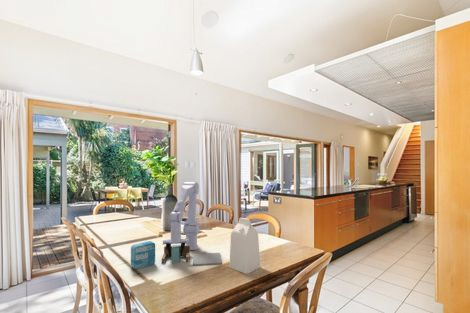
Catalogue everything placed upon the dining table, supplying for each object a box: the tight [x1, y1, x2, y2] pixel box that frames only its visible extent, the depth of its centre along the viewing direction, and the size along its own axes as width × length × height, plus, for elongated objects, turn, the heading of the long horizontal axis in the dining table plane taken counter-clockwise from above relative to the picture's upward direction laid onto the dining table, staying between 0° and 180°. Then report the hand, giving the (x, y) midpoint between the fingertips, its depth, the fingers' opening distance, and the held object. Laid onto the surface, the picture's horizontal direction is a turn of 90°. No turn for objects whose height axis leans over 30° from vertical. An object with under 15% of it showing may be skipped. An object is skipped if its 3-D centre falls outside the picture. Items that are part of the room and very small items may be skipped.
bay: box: [161, 244, 191, 264], centre depth 145 cm, size 10×15×6 cm
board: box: [192, 252, 222, 267], centre depth 144 cm, size 16×16×1 cm
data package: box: [130, 240, 156, 270], centre depth 136 cm, size 12×4×12 cm, turn 134°
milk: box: [229, 217, 261, 275], centre depth 133 cm, size 12×12×26 cm
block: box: [171, 244, 181, 264], centre depth 143 cm, size 6×4×8 cm, turn 7°
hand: (175, 256), depth 143 cm, fingers open, 6 cm apart
